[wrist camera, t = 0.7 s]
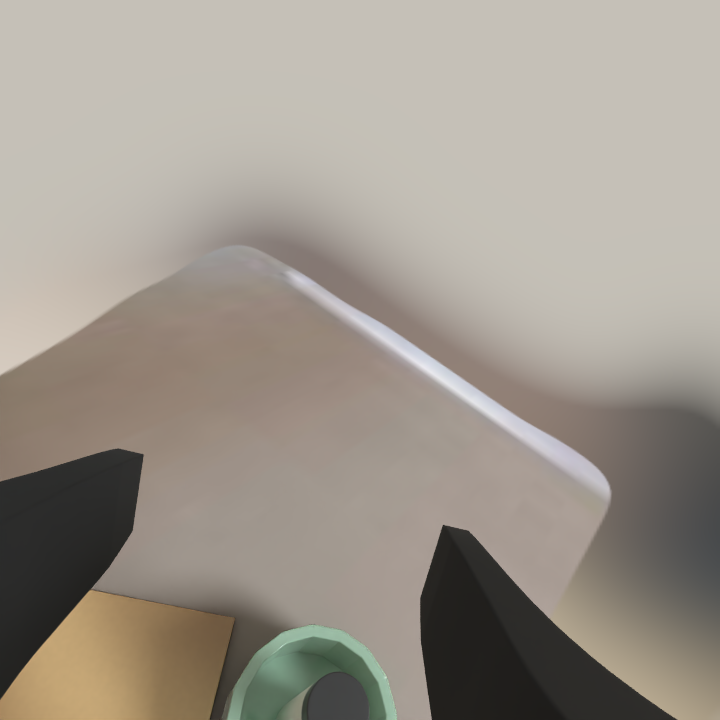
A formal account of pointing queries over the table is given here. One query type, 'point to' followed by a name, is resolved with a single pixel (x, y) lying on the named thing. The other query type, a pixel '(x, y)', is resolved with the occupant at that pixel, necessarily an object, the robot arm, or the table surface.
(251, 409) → the table surface
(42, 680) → the cork mat
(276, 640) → the pen pot
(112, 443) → the table surface
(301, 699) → the marker
